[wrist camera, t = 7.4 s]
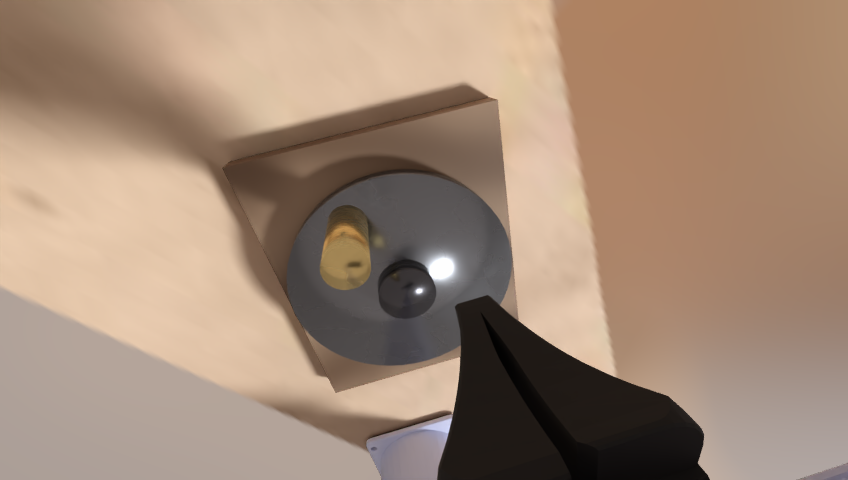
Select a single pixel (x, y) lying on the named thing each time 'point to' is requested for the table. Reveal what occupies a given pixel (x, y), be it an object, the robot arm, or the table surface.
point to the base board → (357, 157)
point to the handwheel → (395, 266)
